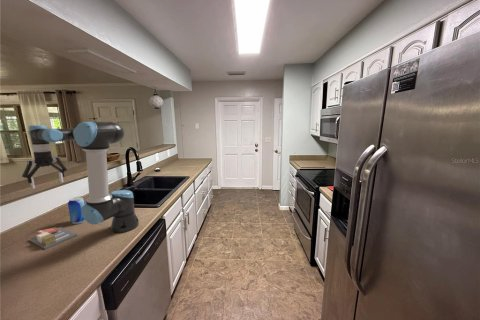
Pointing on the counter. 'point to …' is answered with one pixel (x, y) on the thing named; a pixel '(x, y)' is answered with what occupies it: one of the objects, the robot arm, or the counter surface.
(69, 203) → the beer can
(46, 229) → the block
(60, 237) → the panel
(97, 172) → the robot arm
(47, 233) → the ivory slider
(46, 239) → the brass slider
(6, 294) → the counter surface
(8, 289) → the counter surface
